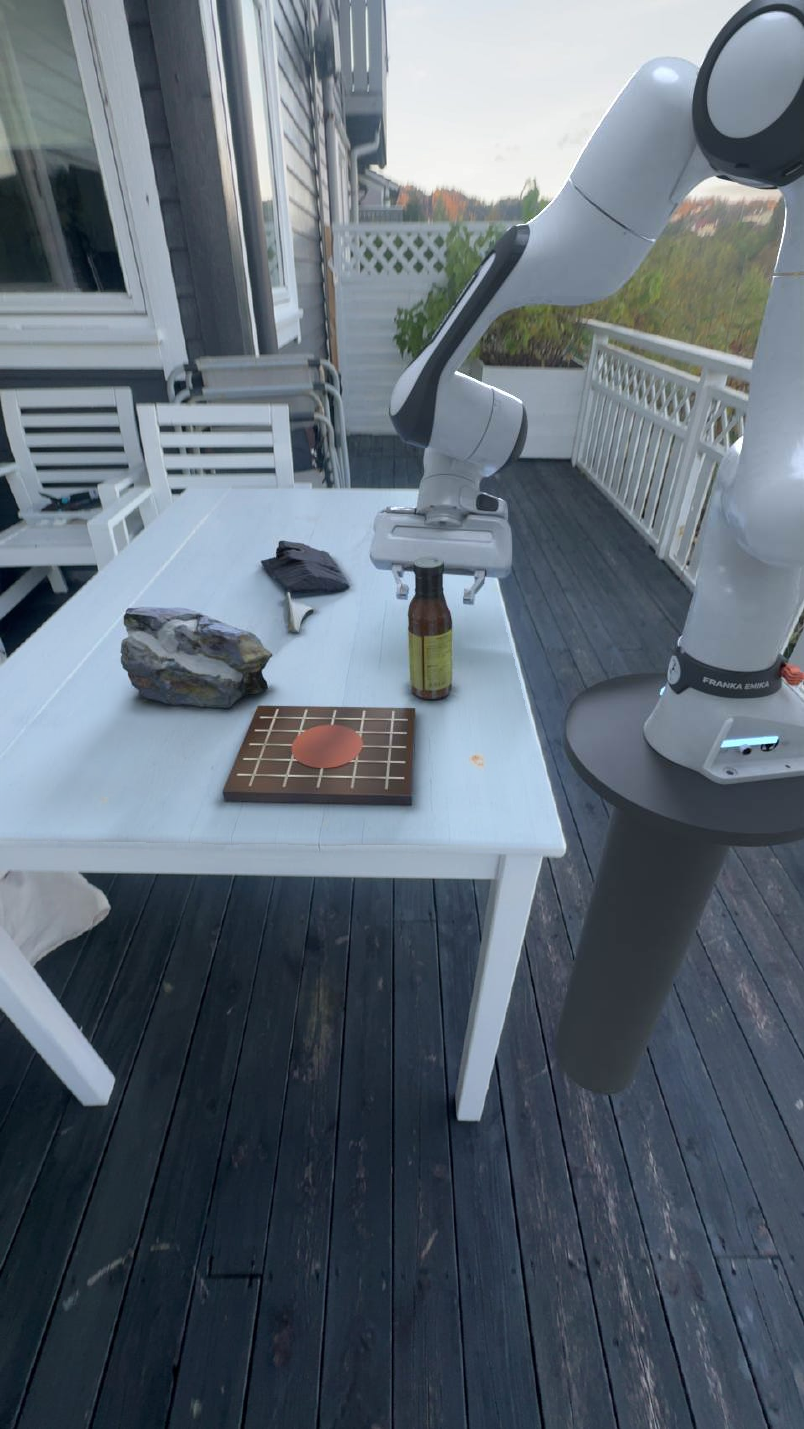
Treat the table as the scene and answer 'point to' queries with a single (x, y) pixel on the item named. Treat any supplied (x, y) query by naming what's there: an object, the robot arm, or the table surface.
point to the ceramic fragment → (295, 613)
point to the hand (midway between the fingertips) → (434, 600)
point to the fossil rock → (191, 658)
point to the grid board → (326, 756)
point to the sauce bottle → (430, 632)
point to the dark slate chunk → (304, 569)
